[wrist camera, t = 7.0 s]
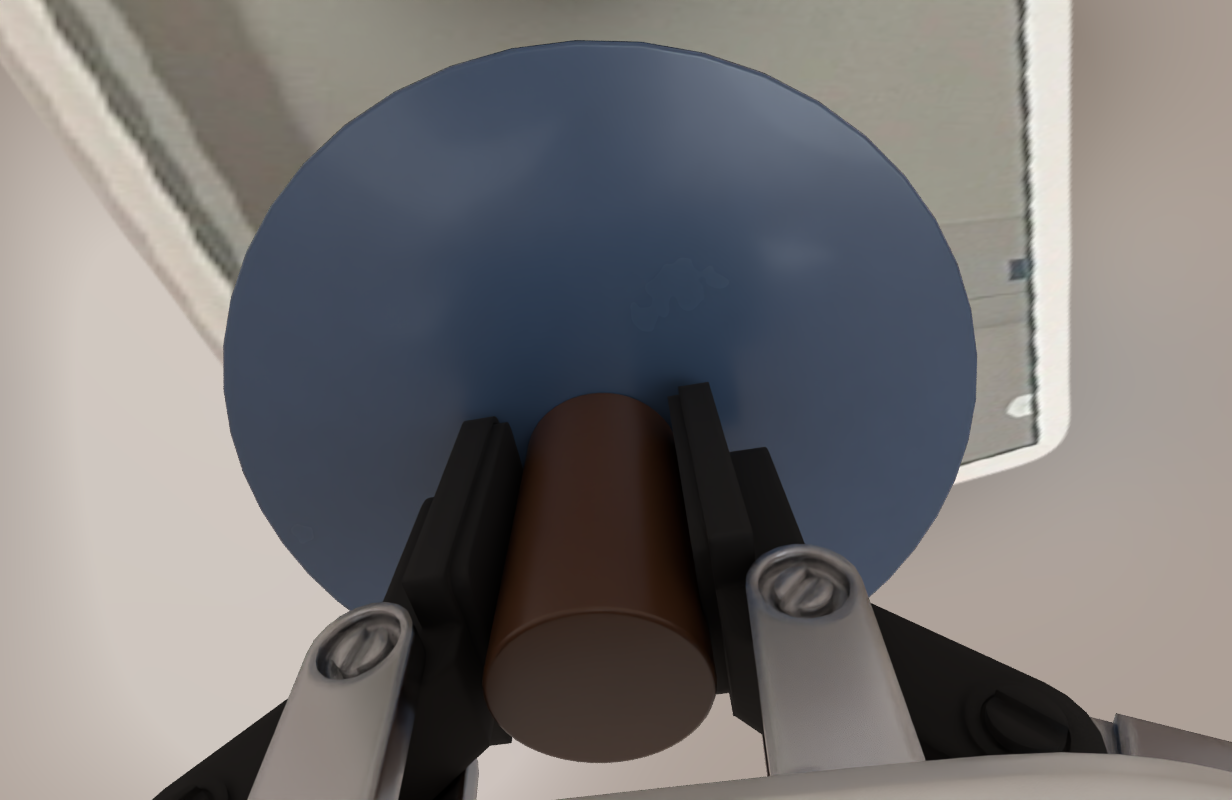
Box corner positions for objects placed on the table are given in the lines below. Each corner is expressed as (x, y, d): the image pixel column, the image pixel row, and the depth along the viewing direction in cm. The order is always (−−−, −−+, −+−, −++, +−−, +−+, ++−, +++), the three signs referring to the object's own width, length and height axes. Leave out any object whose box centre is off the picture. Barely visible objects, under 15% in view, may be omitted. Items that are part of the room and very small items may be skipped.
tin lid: (108, 132, 10) (-444, 230, 5) (979, -46, 9) (1498, -169, 4) (395, 684, 17) (293, 988, 11) (927, 615, 16) (1094, 914, 10)
